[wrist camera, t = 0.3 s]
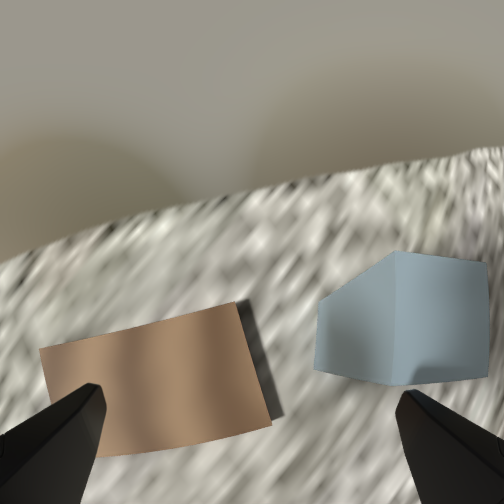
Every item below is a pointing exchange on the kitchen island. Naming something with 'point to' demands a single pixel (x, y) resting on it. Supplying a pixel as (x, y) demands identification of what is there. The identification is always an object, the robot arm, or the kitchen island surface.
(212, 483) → the kitchen island surface
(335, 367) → the slate-blue post
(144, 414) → the tan flat board
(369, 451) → the kitchen island surface
